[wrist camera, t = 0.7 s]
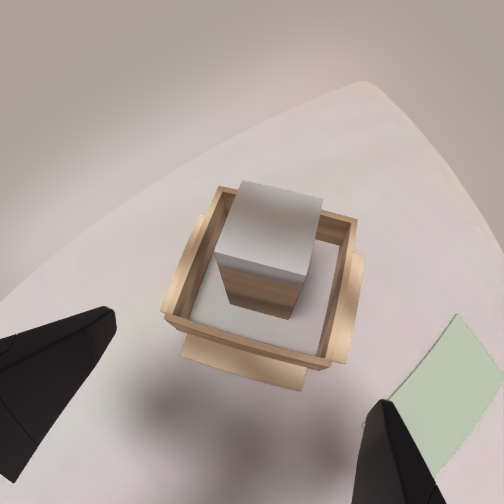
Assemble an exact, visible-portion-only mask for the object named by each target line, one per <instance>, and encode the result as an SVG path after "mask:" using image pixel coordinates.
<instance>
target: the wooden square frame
mask: <svg viewBox="0 0 504 504" xmlns="http://www.w3.org/2000/svg"><path fill="white" fill-rule="evenodd" d="M237 192H238V190H236V189H231V188H227V187H222V186H219V187H218V189H217V191H216V193H215V196H214V198H213V200H212V202H211V205H210V207H209V209H208V211H207V214H206V215H204V214H200V215H199V218H198V220H197V222H196V224H195V227H194V229H193V231H192V234H191V236H190V238H189V240H188V243H187V245H186V247H185V250H184V252H183V254H182V257H181V259H180V262H179V264H178V266H177V269H176V271H175V274H174V276H173V279H172V281H171V284H170V286H169V289H168V291H167V294H166V296H165V299H164V301H163V304H162V306H161V309H160V311H161V312H164V313H166V314H165V316H164V319H165V320H166V321H167V322H168V323H170V324H171V325H172V326H174V327H175V328H176V329H177V330H180V331H183V332H186V333H188V334H187V337H186V339H185V342H184V345H183V348H182V351H181V354H180V356H183V357H185V358H188V359H191V360H194V361H197V362H200V363H203V364H205V365H208V366H211V367H215V368H218V369H221V370H224V371H227V372H230V373H234V374H237V375H240V376H244V377H247V378H250V379H254V380H258V381H261V382H265V383H269V384H272V385H276V386H280V387H284V388H288V389H292V390H297V391H301V389H302V386H303V382H304V379H305V375H306V371H307V368H310V369H314V370H318V371H319V370H322V369H326V368H329V367H330V366H331V362H332V361H333V362H338V363H343V364H346V360H347V356H348V351H349V347H350V342H351V337H352V332H353V327H354V322H355V317H356V312H357V306H358V300H359V294H360V288H361V282H362V275H363V268H364V261H365V255H362V254H358V253H355V252H353V249H354V242H355V235H356V228H357V220H358V219H354V218H350V217H347V216H343V215H339V214H336V213H332V212H328V211H324V210H321V213H320V217H319V222H318V227H317V231H316V236H315V239H318V240H322V241H325V242H329V243H333V244H337V245H340V248H339V253H338V259H337V264H336V270H335V275H334V280H333V285H332V290H331V295H330V300H329V304H328V309H327V313H326V318H325V322H324V327H323V331H322V335H321V339H320V343H319V347H318V351H317V355H316V356H312V355H308V354H304V353H300V352H296V351H292V350H288V349H284V348H280V347H277V346H273V345H269V344H266V343H262V342H258V341H255V340H251V339H248V338H244V337H241V336H238V335H234V334H231V333H228V332H224V331H221V330H218V329H215V328H211V327H208V326H205V325H202V324H199V323H196V322H193V321H190V320H187V319H188V317H189V314H190V311H191V309H192V306H193V303H194V300H195V298H196V295H197V292H198V290H199V287H200V284H201V282H202V279H203V276H204V274H205V271H206V268H207V266H208V263H209V261H210V258H211V255H212V253H213V250H214V248H215V245H216V243H217V240H218V237H219V235H220V232H221V230H222V227H223V225H224V222H225V220H226V217H227V216H228V214H229V211H230V209H231V206H232V204H233V202H234V199H235V197H236V194H237Z"/></svg>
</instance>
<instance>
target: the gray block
mask: <svg viewBox="0 0 504 504" xmlns="http://www.w3.org/2000/svg"><path fill="white" fill-rule="evenodd" d="M322 203H323V199H320V198H316V197H313V196H309V195H305V194H300V193H296V192H292V191H288V190H284V189H279V188H275V187H271V186H266V185H262V184H257V183H253V182H248V181H243V180H242V182H241V184H240V187H239V189H238V192H237V194H236V197H235V199H234V202H233V204H232V206H231V209H230V211H229V214H228V216H227V219H226V221H225V224H224V226H223V229H222V232H221V234H220V237H219V239H218V242H217V244H216V247H215V249H214V254H215V257H216V261H217V264H218V267H219V270H220V273H221V277H222V280H223V283H224V286H225V289H226V292H227V296H228V299H229V302H230V304H232V305H236V306H239V307H243V308H246V309H250V310H253V311H257V312H261V313H264V314H268V315H272V316H275V317H279V318H283V319H287V320H288V319H289V317H290V314H291V312H292V310H293V307H294V305H295V303H296V300H297V298H298V295H299V293H300V290H301V288H302V286H303V283H304V281H305V278H306V275H307V271H308V267H309V263H310V258H311V254H312V250H313V245H314V241H315V236H316V231H317V227H318V222H319V217H320V213H321V208H322Z"/></svg>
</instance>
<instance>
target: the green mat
mask: <svg viewBox="0 0 504 504" xmlns="http://www.w3.org/2000/svg"><path fill="white" fill-rule="evenodd" d="M503 381H504V374H503V373H502V371H501V370H500V369H499V367H498V366H497V364H496V363H495V361H494V360H493V358H492V357H491V356H490V354H489V353H488V351H487V350H486V349H485V347H484V346H483V345H482V343H481V342H480V341H479V339H478V338H477V337H476V335H475V334H474V333H473V331H472V330H471V329H470V328H469V326H468V325H467V324H466V322H465V321H464V320H463V319H462V317H461V316H460V315H459V314H458V313H457V314H456V315H455V316H454V318H453V319H452V321H451V322H450V324H449V325H448V326H447V328H446V329H445V331H444V332H443V333H442V335H441V336H440V337H439V339H438V340H437V341H436V343H435V344H434V345H433V347H432V348H431V349H430V351H429V352H428V353H427V354H426V356H425V357H424V358H423V359H422V361H421V362H420V363H419V364H418V366H417V367H416V368H415V369H414V370H413V372H412V373H411V374H410V375H409V376H408V377H407V379H406V380H405V381H404V382H403V383H402V384H401V385H400V386H399V388H398V389H397V390H396V391H395V392H394V393H393V394H392V395H391V396H390V397H389V398H388V399H387V400H390V401H392V402H393V403H394V405H395V407H396V408H397V410H398V412H399V414H400V416H401V417H402V419H403V421H404V423H405V425H406V427H407V428H408V430H409V432H410V434H411V436H412V438H413V439H414V441H415V443H416V445H417V447H418V449H419V451H420V453H421V455H422V456H423V458H424V460H425V462H426V464H427V466H428V468H429V470H430V472H431V474H432V476H433V478H434V477H435V476H436V475H437V474H438V473H439V472H440V471H441V469H442V468H443V467H444V466H445V465H446V464H447V463H448V461H449V460H450V459H451V458H452V457H453V455H454V454H455V453H456V452H457V450H458V449H459V448H460V446H461V445H462V444H463V443H464V441H465V440H466V439H467V437H468V436H469V435H470V433H471V432H472V430H473V429H474V428H475V426H476V425H477V423H478V422H479V420H480V419H481V417H482V416H483V414H484V413H485V411H486V410H487V408H488V406H489V405H490V403H491V402H492V400H493V398H494V397H495V395H496V393H497V392H498V390H499V388H500V386H501V385H502V383H503ZM365 422H366V421H365ZM365 422H364V423H363V424H362V426H363V427H365Z"/></svg>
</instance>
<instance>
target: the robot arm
mask: <svg viewBox="0 0 504 504" xmlns="http://www.w3.org/2000/svg"><path fill="white" fill-rule="evenodd" d="M116 330H117V326H116V318H115V312H114V310H112V309H110V308H108V307H106V306H101V307H98V308H95V309H92V310H89V311H86V312H83V313H80V314H77V315H74V316H71V317H68V318H64V319H61V320H58V321H55V322H52V323H49V324H46V325H43V326H40V327H37V328H34V329H31V330H27V331H24V332H21V333H18V334H15V335H12V336H9V337H5V338H2V339H0V474H1V475H3V476H4V477H5V478H7V479H8V480H9V481H11V482H12V483H15V482H16V480H17V479H18V477H19V475H20V474H21V472H22V471H23V469H24V468H25V466H26V464H27V463H28V461H29V460H30V458H31V457H32V455H33V454H34V452H35V451H36V449H37V448H38V446H39V445H40V443H41V442H42V440H43V439H44V437H45V436H46V434H47V433H48V431H49V430H50V428H51V427H52V426H53V424H54V423H55V421H56V420H57V418H58V417H59V416H60V414H61V413H62V411H63V410H64V409H65V407H66V406H67V404H68V403H69V402H70V400H71V399H72V397H73V396H74V395H75V393H76V392H77V391H78V389H79V388H80V387H81V385H82V384H83V382H84V381H85V380H86V378H87V377H88V376H89V374H90V373H91V372H92V370H93V369H94V368H95V366H96V365H97V363H98V362H99V360H100V358H101V356H102V355H103V353H104V351H105V350H106V348H107V346H108V345H109V343H110V342H111V340H112V338H113V337H114V335H115V333H116ZM351 504H447V503H446V501H445V499H444V498H443V496H442V494H441V492H440V490H439V488H438V486H437V485H436V482H435V480H434V478H433V476H432V474H431V472H430V470H429V468H428V466H427V464H426V462H425V460H424V458H423V456H422V455H421V453H420V451H419V449H418V447H417V445H416V443H415V441H414V439H413V438H412V436H411V434H410V432H409V430H408V428H407V427H406V425H405V423H404V421H403V419H402V417H401V416H400V414H399V412H398V410H397V408H396V407H395V405H394V403H393V402H392V401H390V400H385V399H381V400H379V401H378V402H377V403H376V404H375V406H374V407H373V408H372V409H371V411H370V412H369V413H368V415H367V418H366V422H365V427H364V432H363V437H362V442H361V446H360V451H359V455H358V461H357V468H356V476H355V483H354V490H353V496H352V502H351Z"/></svg>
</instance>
